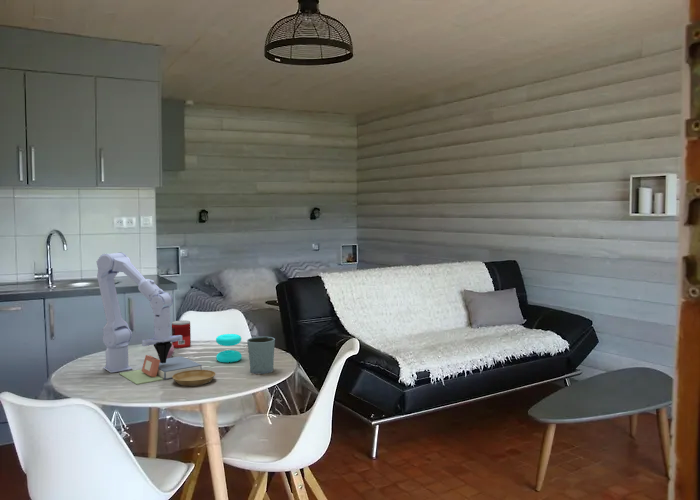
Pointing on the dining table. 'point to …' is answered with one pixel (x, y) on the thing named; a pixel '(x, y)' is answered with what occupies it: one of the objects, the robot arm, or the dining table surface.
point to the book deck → (176, 367)
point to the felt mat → (139, 377)
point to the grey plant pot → (261, 354)
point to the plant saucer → (194, 377)
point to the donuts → (228, 354)
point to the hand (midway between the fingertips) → (163, 362)
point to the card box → (150, 366)
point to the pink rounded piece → (170, 352)
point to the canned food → (181, 333)
